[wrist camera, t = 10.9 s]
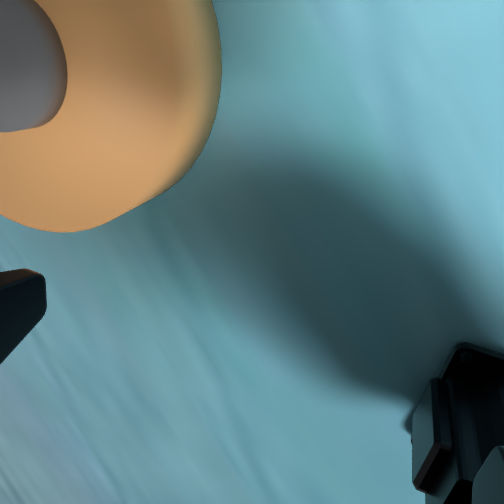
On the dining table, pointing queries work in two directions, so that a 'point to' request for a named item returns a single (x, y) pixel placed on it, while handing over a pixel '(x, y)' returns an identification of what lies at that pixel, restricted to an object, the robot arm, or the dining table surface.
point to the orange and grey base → (101, 105)
